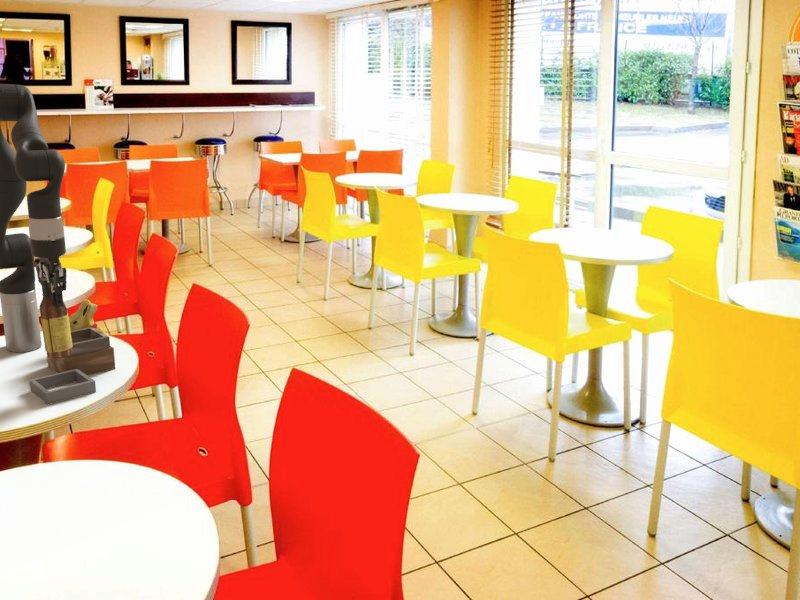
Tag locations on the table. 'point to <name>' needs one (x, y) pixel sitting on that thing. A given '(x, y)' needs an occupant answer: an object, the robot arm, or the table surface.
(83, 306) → the chocolate bunny
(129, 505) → the table surface
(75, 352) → the walnut dock
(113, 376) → the table surface
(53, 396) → the low holder
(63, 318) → the sauce bottle
